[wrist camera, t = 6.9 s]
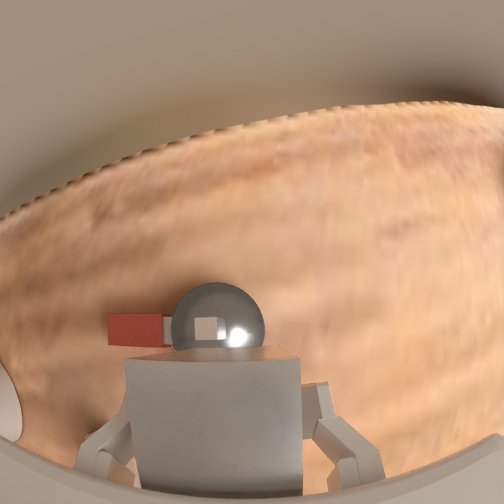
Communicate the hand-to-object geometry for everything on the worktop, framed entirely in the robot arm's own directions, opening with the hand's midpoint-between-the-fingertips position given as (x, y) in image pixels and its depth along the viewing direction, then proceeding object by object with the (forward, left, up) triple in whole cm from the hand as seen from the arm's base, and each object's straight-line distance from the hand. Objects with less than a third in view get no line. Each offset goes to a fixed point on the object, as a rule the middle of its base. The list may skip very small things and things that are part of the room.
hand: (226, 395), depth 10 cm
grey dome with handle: (-7, +3, -19) cm, 20 cm away
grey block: (0, -1, -5) cm, 5 cm away
